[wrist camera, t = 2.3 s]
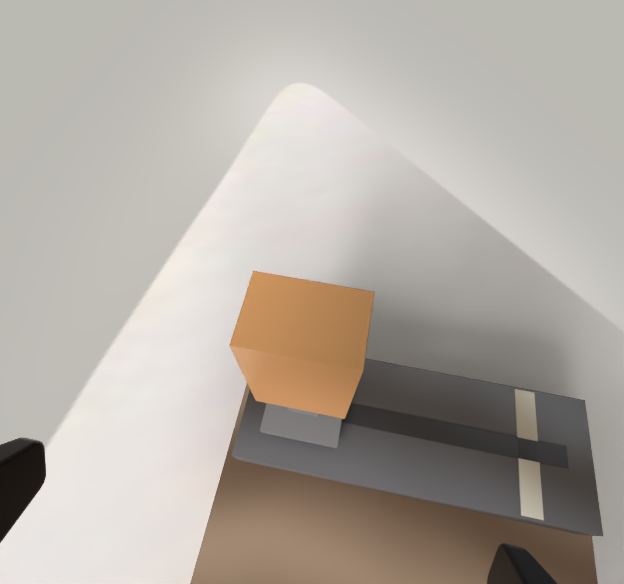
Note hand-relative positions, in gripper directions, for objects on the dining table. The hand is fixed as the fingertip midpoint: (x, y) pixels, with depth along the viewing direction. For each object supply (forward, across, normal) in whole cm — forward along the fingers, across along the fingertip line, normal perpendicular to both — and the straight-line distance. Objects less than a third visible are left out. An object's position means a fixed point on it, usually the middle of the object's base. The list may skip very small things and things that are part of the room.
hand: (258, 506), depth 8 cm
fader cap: (+8, 0, +3) cm, 9 cm away
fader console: (+8, -5, +7) cm, 12 cm away
